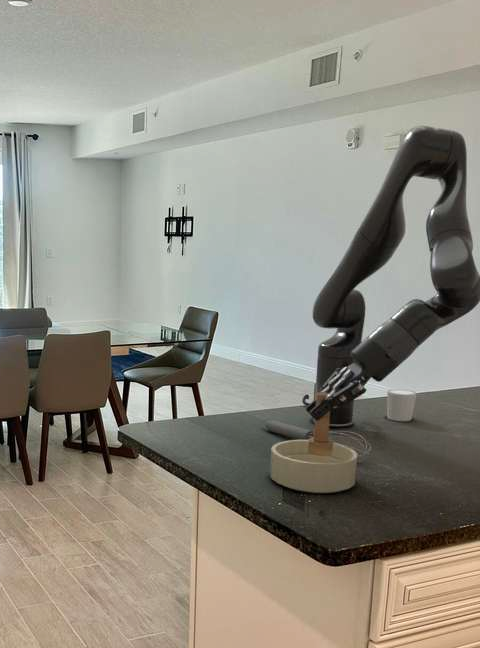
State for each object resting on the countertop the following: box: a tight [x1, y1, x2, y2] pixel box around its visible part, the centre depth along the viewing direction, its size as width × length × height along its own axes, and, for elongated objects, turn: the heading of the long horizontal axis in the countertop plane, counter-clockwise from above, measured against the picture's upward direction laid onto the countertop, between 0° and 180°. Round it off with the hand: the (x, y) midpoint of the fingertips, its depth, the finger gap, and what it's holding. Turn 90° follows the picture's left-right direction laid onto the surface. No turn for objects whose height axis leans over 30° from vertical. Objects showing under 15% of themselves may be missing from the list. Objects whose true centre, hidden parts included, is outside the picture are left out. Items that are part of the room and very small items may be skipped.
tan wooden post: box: [308, 392, 334, 456], centre depth 131 cm, size 4×4×11 cm
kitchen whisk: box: [263, 419, 372, 463], centre depth 157 cm, size 6×34×6 cm, turn 22°
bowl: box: [269, 439, 359, 494], centre depth 135 cm, size 16×16×6 cm
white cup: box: [386, 389, 417, 422], centre depth 180 cm, size 7×7×7 cm
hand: (311, 414), depth 131 cm, fingers closed on tan wooden post, 2 cm apart
